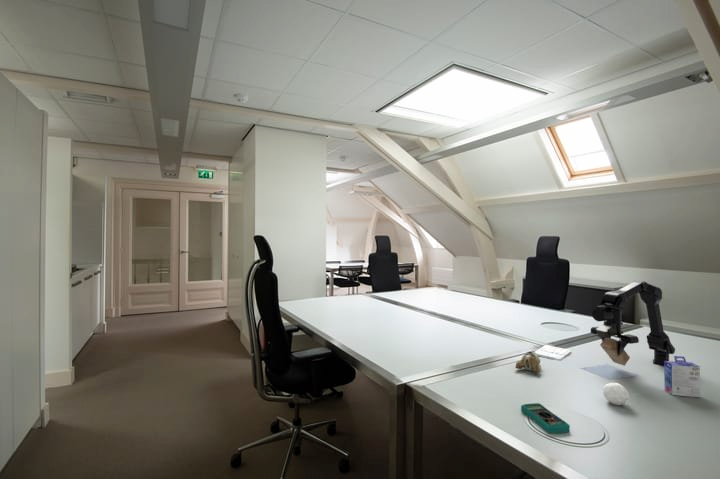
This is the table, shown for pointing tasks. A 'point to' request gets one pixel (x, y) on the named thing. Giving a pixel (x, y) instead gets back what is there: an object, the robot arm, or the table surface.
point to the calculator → (552, 352)
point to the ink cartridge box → (682, 377)
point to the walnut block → (614, 351)
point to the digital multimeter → (545, 418)
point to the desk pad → (608, 371)
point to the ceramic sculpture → (529, 362)
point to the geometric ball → (615, 393)
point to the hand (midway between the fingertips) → (613, 353)
